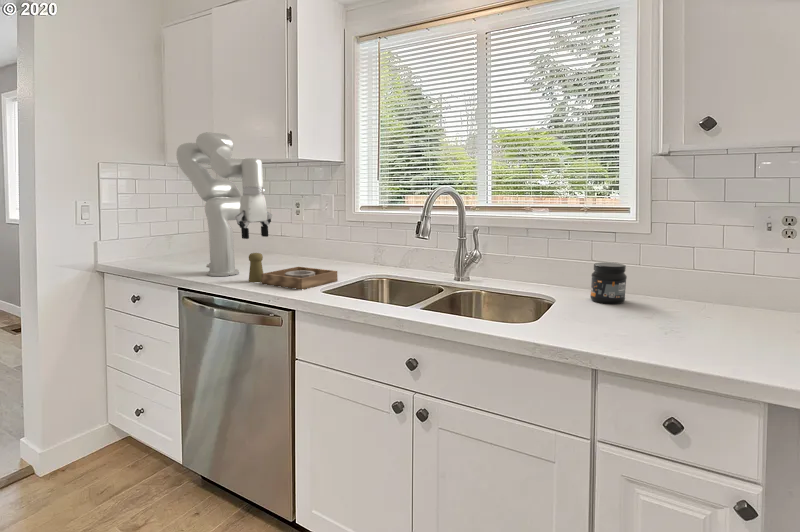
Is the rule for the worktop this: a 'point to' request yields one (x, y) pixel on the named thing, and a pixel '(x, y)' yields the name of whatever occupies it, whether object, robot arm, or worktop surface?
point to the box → (299, 277)
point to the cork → (255, 267)
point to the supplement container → (608, 283)
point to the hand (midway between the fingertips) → (255, 237)
